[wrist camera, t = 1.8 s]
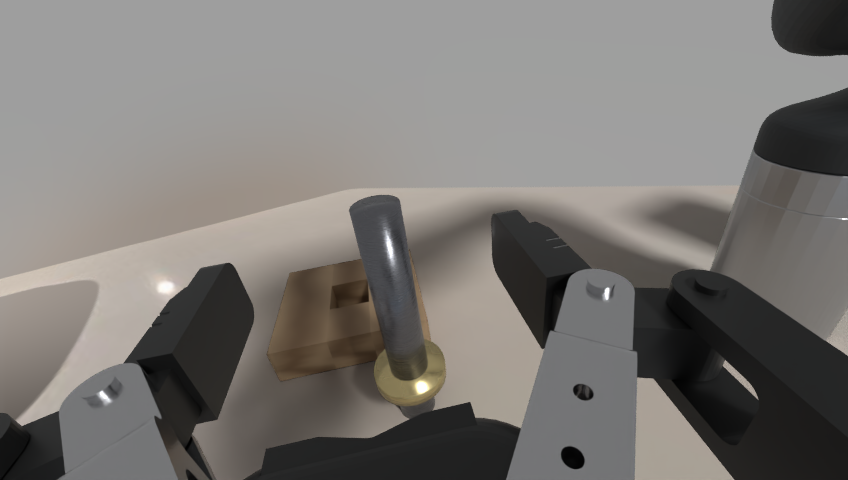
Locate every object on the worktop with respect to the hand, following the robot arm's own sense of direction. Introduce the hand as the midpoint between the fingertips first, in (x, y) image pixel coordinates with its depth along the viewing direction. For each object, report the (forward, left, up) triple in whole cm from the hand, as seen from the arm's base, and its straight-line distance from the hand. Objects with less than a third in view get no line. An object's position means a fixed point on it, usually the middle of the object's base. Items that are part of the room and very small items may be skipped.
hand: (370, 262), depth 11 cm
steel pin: (0, -11, -23) cm, 25 cm away
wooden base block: (+5, -24, -23) cm, 34 cm away
